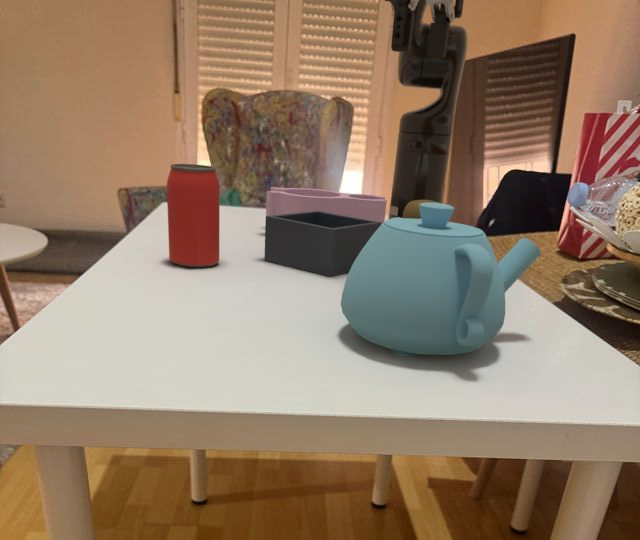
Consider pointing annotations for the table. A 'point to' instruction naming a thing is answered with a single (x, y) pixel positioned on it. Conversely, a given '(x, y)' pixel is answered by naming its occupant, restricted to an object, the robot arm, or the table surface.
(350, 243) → the caddy
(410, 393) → the table surface
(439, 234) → the teapot
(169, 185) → the beer can
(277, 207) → the pink elongated piece
